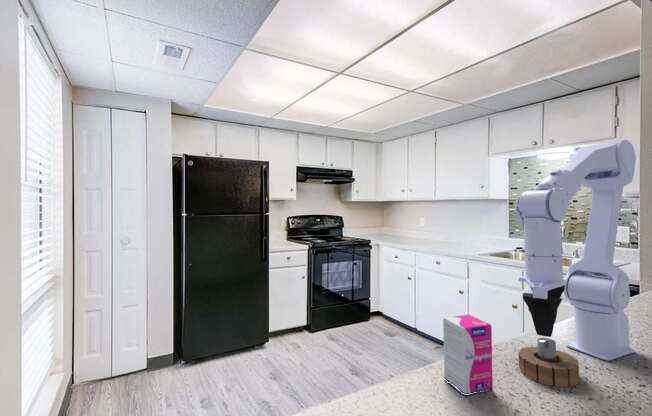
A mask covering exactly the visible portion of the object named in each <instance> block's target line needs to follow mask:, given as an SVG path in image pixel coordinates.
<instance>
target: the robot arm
mask: <svg viewBox="0 0 652 416" xmlns="http://www.w3.org/2000/svg"><path fill="white" fill-rule="evenodd" d="M568 160H569V162H568V163H567V164H566V165H565V166H564V168H563V169H552V170H551V171H549V175H547V176H546V178H545V179H543V180H542V181H541V182H539V183H538V184H537V186H536V187H535V188H533V190H526V191H524V192H522V194H520V195H519V196H518V197H517V201H516V205H515V207H514V208H515V209H514V210H515V213H516V215H517V217H518V219H519V227H520V229H521V230H522V231H523V241H524V243H523V244H524V264H525V265H524V266H525V275H519V276H518V281H519V282H524V283H526V284H527V285H528V286H529V288H530V290H531V291H532V293H531V292H523V294H522V299H523V302H524V303H525V305H526V306H527V308H528V310H529V312H530V315H531V318H532V322H533V327H534V330H535V333H536V335H537V336H542V337H545V338H547V337H548V338H551V337H552V335H553V331H554V327H555V326H554V325H555V324H556V320H557V315H558V310H559V309H558V308H559V306H560V305H561V303H562V302H563V299H562V298H561V297H562V295H564V297H565V298H566V300H568V301H569V302H570V304H569V305H570V306H572V307H573V309H574V310H573V312H574V313H573V314H574V334H575V341H571V342H568V343H566V344H565V346H566V348H567V347H568V348H570V349H572V350H575V351H579V352H581V353H584V354H587V355H590V356H591V357H592V356H593V357H596V358H597V359H600V360H604V361H608V362H609V361H613V360H615V359H619V358H621V357H624V356H626V355H627V356H628V355H630V354H633V353H636V349H635V348H632V347H631V345H630V343H631V342H630V340H631V339H630V322H629V318H628V316H627V314H626V312H624V310H625V309H626V308H627V307H628V306H629V303H630V299H631V292H630V277H629V276H628V274H627V273H626V272H625V270H623V269H622V268H621V267H619V266H617V265H616V263H614V256H615V247H616V241H617V235H618V226H619V219H620V214H621V213H620V212H621V204H622V197H623V191H624V187H626V186H628V185H629V184H631V183H632V182H633V179H634V176H635V171H636V170H635V168H636V161H637V155H636V152H635V149H634V146H633V144H632V143H631V142H630V141H629V140H628V139H621V140H620V141H619V140H618V141H611V142H607V143H600V144H599V143H598V144H594V145H588V146H583V147H582V146H577V147H575V148H573V149H572V151H570V152H569V159H568ZM582 186H583V187H585V188H588V189H591V191H592V197H591V201H590V202H591V203H590V207H589V208H590V210H589V215H588V216H589V217H588V221H587V222H588V224H587V229H586V237H585V243H584V249H583V256H582V258H581V259H580V260H578V261H576V262H574V263H572V264H570V265H568V269H567V273H566V275H565V277H564V270H563V248H562V247H563V246H562V230H561V229H562V227H561V226H562V223H561V221H562V220H563V219H565V218H566V217H567V213H568V208H569V206H570V203H571V200H572V198H574V196H575V195H577V194H578V192H579V191H580V190H581V188H582Z"/></svg>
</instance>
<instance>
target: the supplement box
mask: <svg viewBox="0 0 652 416" xmlns="http://www.w3.org/2000/svg"><path fill="white" fill-rule="evenodd" d="M442 320H443V321H442V327H443V366H444V371H443V375H444V376H443V377H444V378H445V379H446V380H447V381H448V382H450V383H451V384H453V385H454V386H456V387H457V388H458V389H459V390H460V391H461V392H462V393H464V394H469V393H474V392H480V391H481V392H482V391H486V392H490V391H489V390H492V391H494V387H493V386H494V385H493V384H494V383H493V377H494V376H493V339H492V337H493V336H492V334H493V331H492V329H493V328H492V324H490V323H488V322H486V321H484V320H481V318H480V319H479V318H477V317H475V316H473V315H471V314H462V315H457V316H455V315H454V316H448V317H443V319H442ZM482 393H483V392H482Z"/></svg>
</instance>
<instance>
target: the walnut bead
mask: <svg viewBox="0 0 652 416" xmlns="http://www.w3.org/2000/svg"><path fill="white" fill-rule="evenodd" d="M556 362H557V363H550V362H546V361H542V360H539V359H538V346H530V347H529V346H526V347H522V348H521V349H519V351H518V369H519V371H520V370H521V371H520V373H522V374H523V376H525V377H526V376H527V377H526V378H528V377H529V379H530V378H531V379H530V380H532V379H533V381H534V380H535V381H534V382H538V383H540V384H544V385H548V386H550V387H551V386H552V387H553V386H554V387H560V388H561V387H564V388H565V387H566V388H568V387H573V386H576V385H578V384H580V368H579V366H580V364H579V359H577V358H575V357H574V356H573V355H572V354H569V353H567V352H564V351H561V350H559V349H558V350H557V349H556Z"/></svg>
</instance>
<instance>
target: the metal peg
mask: <svg viewBox="0 0 652 416" xmlns="http://www.w3.org/2000/svg"><path fill="white" fill-rule="evenodd" d="M536 341H537V347H538V359H539V360H542V361H546V362H550V363H557V362H556V351H557V342H556V340H554V339H552V338H550V337H548V338H547V337H538V338H537V340H536Z"/></svg>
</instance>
